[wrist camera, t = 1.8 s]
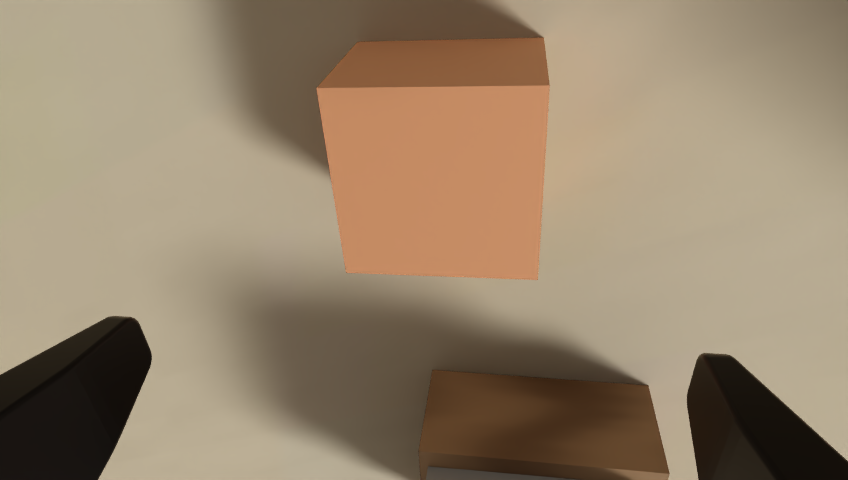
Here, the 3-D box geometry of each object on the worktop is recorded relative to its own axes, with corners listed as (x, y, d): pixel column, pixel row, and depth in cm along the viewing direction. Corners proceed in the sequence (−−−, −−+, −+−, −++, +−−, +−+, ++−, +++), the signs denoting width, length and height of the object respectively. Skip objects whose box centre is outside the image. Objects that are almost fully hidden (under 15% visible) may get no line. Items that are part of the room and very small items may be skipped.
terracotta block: (543, 36, 15) (549, 85, 12) (534, 201, 18) (537, 279, 15) (358, 40, 16) (316, 88, 13) (377, 199, 19) (346, 272, 15)
